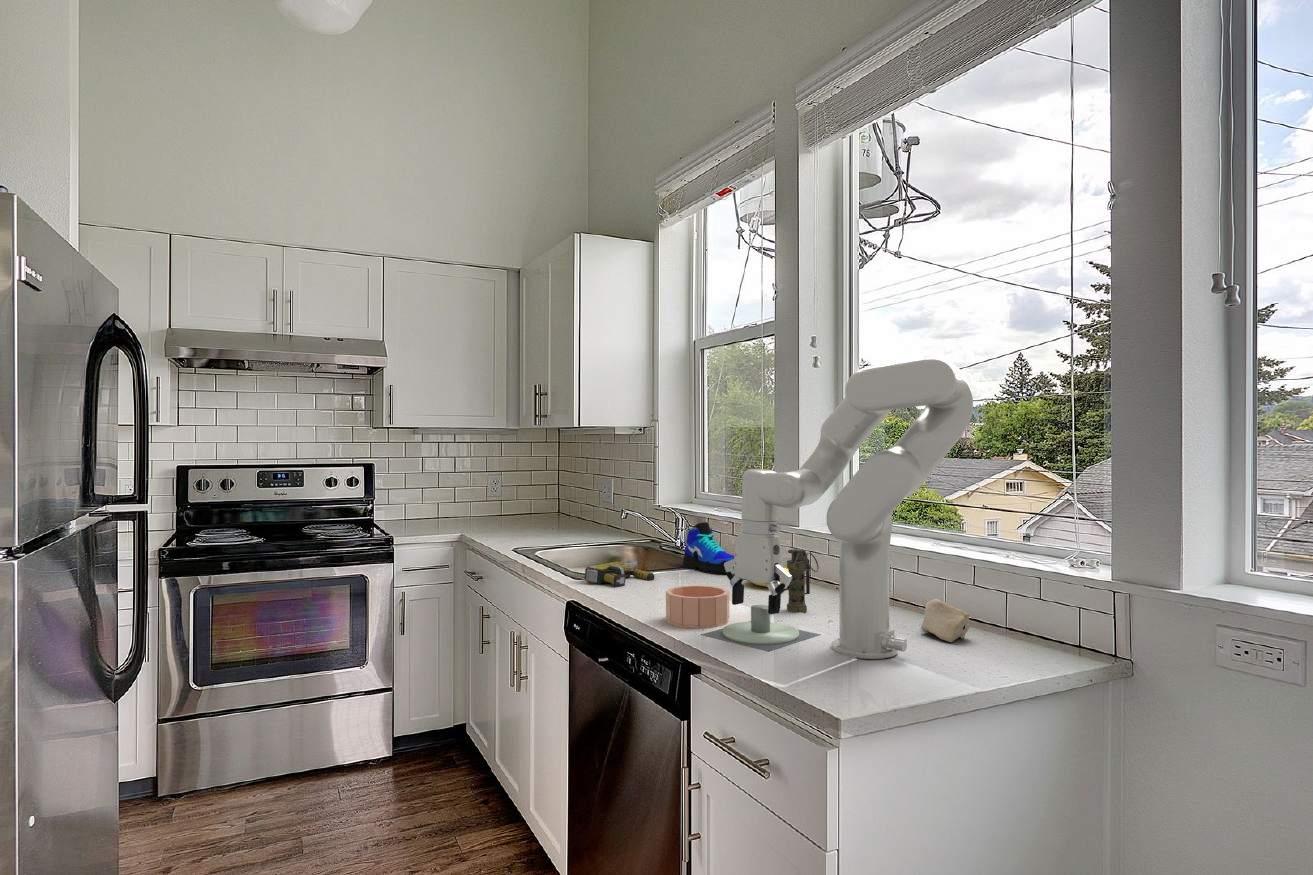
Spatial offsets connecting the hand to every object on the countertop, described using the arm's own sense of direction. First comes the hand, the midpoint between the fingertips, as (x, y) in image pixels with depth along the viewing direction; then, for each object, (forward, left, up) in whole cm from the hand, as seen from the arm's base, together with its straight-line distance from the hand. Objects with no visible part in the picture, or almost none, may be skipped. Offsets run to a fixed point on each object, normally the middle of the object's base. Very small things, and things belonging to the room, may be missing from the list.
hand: (755, 608), depth 165 cm
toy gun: (+67, -24, -7) cm, 71 cm away
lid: (-1, 0, -5) cm, 5 cm away
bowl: (+17, 0, -6) cm, 18 cm away
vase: (+31, -47, -6) cm, 57 cm away
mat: (-1, 0, -6) cm, 6 cm away
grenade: (+6, -25, -6) cm, 27 cm away
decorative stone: (-28, -28, -6) cm, 40 cm away
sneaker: (+60, -53, -6) cm, 80 cm away
